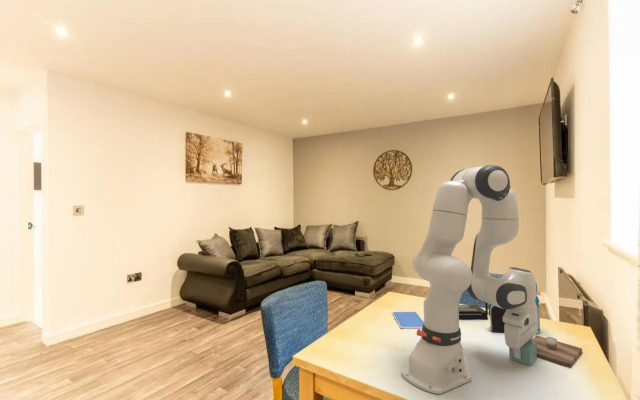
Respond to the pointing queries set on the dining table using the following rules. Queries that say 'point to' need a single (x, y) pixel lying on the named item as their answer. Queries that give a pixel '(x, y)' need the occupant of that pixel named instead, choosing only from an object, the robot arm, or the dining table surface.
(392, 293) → the dining table surface
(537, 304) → the beverage bottle
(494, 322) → the battery charger
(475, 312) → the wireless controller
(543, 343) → the stub plate
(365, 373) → the dining table surface
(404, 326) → the tablet computer
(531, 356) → the sage green cube
